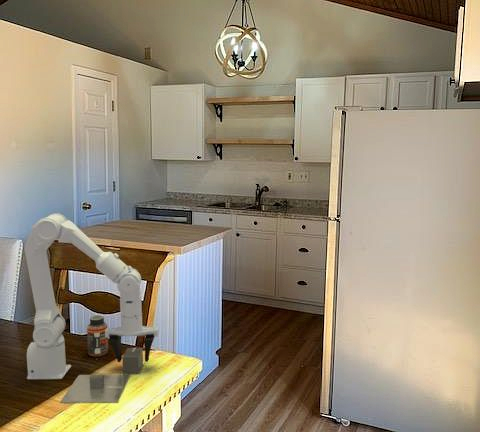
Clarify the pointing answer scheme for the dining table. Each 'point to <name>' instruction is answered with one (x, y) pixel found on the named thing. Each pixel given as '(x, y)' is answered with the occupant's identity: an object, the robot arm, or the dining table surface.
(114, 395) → the grey flat square slab
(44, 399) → the dining table surface
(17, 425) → the dining table surface
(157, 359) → the dining table surface
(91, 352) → the supplement bottle
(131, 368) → the striped grey block
